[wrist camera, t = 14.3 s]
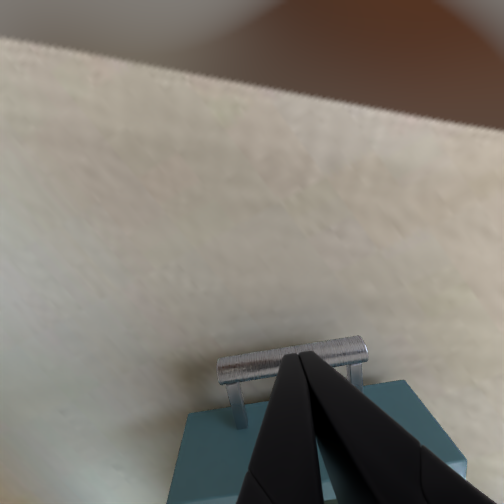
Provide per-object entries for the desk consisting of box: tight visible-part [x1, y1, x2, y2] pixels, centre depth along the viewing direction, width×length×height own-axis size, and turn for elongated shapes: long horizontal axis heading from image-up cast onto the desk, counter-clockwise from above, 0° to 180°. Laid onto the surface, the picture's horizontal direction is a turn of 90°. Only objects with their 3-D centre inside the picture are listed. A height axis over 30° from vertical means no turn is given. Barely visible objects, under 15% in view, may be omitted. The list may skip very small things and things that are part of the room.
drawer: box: [166, 335, 467, 504], centre depth 14 cm, size 17×12×4 cm
